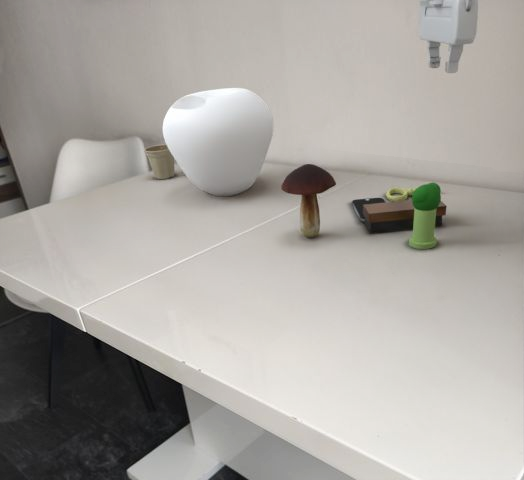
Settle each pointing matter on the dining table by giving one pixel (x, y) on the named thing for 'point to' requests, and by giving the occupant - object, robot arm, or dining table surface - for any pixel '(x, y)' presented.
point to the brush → (395, 216)
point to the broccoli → (425, 215)
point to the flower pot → (161, 161)
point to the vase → (219, 138)
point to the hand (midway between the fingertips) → (442, 70)
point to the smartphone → (360, 202)
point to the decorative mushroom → (308, 194)
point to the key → (401, 191)
